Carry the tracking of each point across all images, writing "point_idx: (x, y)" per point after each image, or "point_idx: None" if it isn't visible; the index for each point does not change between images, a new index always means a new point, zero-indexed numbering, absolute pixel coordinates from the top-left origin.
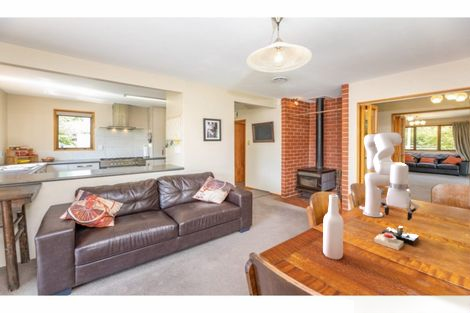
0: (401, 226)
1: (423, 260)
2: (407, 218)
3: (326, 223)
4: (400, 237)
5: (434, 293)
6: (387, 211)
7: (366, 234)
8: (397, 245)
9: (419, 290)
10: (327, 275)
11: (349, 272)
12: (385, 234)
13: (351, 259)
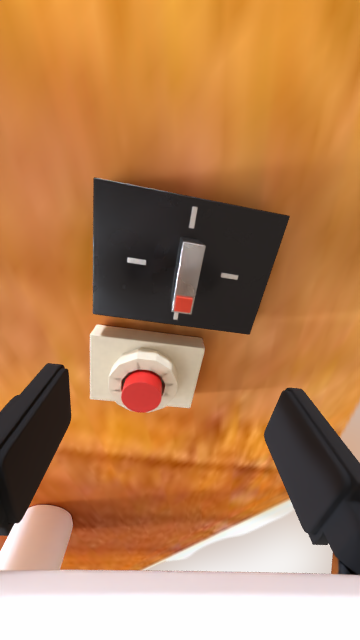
0: (195, 255)
1: (260, 411)
2: (271, 452)
3: None
4: (191, 325)
5: (257, 511)
6: (44, 463)
7: (34, 325)
8: (185, 405)
9: (234, 517)
10: (88, 561)
11: (114, 540)
12: (129, 408)
13: (93, 508)
